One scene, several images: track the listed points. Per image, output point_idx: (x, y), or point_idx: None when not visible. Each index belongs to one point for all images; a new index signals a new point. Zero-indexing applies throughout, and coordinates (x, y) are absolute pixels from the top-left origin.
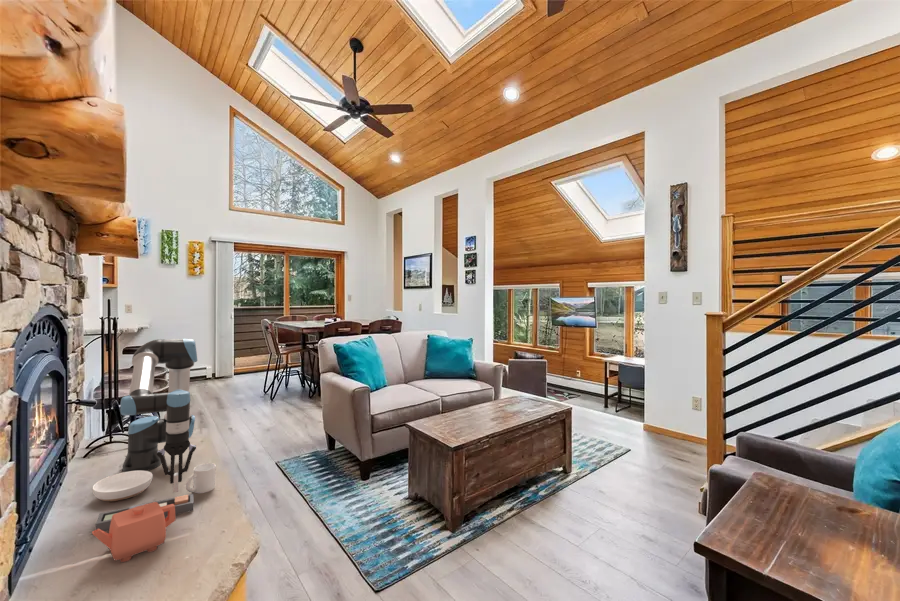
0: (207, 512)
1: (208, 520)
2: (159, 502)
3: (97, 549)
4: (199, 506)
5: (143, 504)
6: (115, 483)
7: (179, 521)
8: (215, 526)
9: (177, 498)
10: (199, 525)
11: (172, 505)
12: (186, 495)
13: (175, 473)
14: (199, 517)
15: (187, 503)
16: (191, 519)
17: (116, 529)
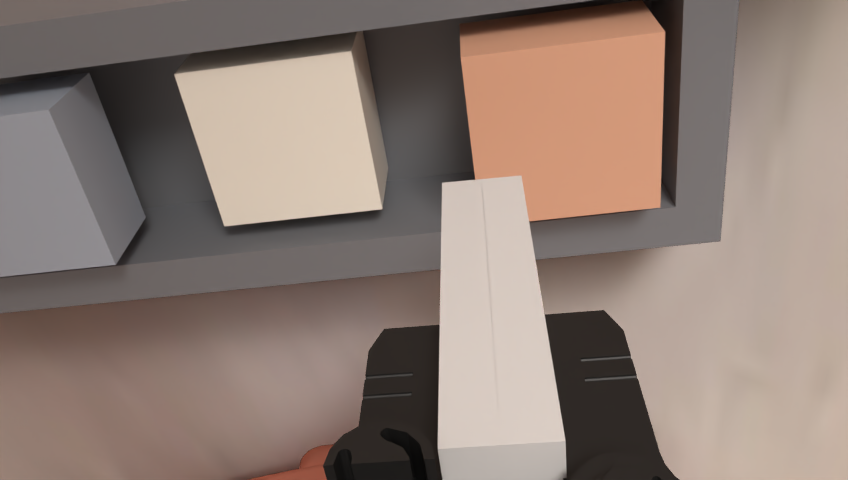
0: (828, 225)
1: (806, 373)
2: (245, 45)
3: (5, 458)
4: (765, 36)
5: (47, 133)
6: None
7: (546, 297)
8: (841, 474)
9: (506, 122)
10: (720, 419)
11: None
12: (637, 63)
13: (480, 475)
14: (735, 294)
15: (643, 242)
16: (657, 302)
17: None
